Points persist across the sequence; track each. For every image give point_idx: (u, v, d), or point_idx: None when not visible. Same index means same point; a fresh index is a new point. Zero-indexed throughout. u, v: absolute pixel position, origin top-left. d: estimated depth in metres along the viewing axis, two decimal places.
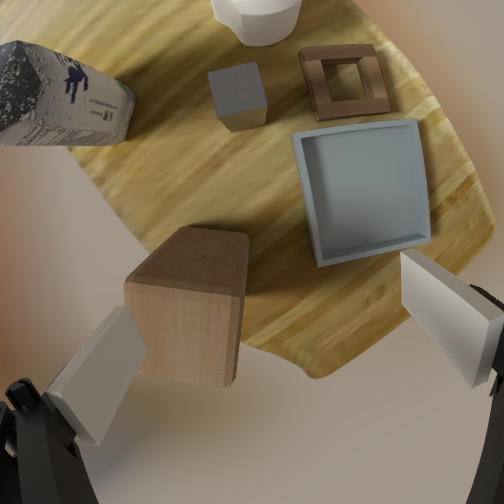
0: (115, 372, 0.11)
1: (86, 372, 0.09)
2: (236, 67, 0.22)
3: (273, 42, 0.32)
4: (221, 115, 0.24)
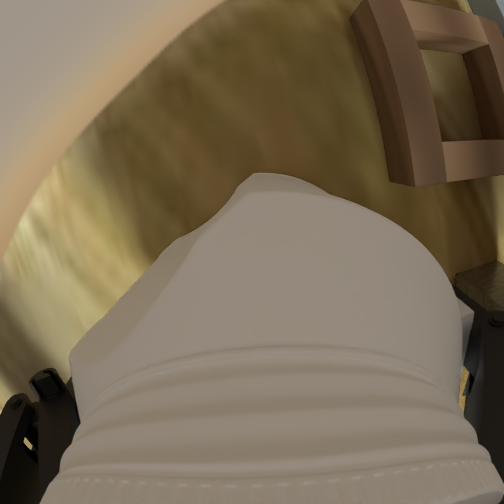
0: None
1: None
2: None
3: None
4: None
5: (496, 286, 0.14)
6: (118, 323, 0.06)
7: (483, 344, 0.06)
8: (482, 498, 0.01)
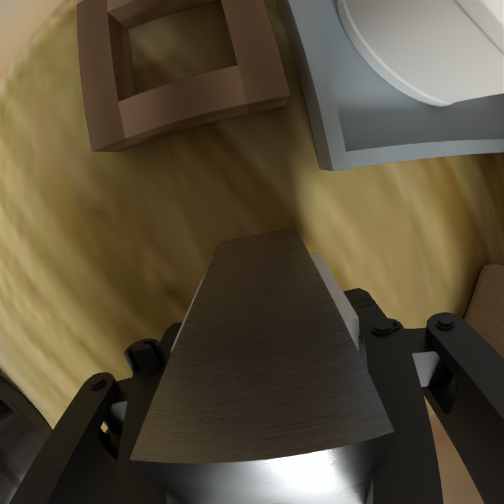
0: None
1: None
2: None
3: None
4: None
5: (241, 254, 0.14)
6: None
7: (367, 356, 0.07)
8: None
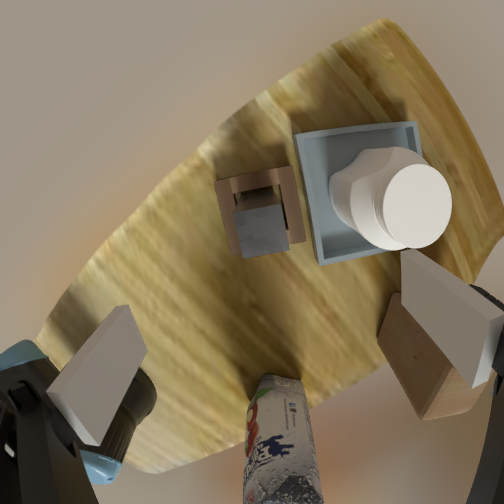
0: (115, 372, 0.11)
1: (86, 372, 0.09)
2: (239, 231, 0.27)
3: None
4: (288, 246, 0.28)
5: (251, 196, 0.37)
6: (370, 171, 0.28)
7: None
8: (439, 174, 0.24)
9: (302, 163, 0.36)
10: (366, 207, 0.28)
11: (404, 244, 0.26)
